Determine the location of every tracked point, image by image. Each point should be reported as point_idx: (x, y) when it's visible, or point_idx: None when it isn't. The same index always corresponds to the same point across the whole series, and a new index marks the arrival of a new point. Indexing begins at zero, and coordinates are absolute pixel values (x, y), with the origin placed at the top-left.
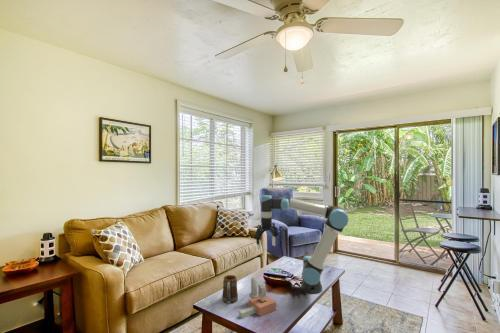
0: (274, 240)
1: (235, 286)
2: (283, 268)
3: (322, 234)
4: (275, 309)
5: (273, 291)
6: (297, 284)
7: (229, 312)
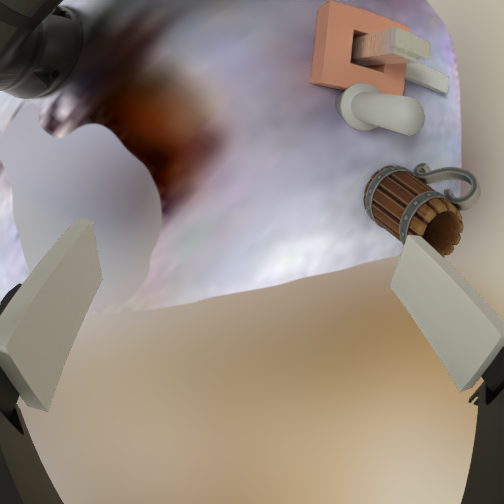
0: (46, 282)
1: (421, 190)
2: (24, 275)
3: None
4: (319, 8)
5: (196, 121)
6: (55, 114)
7: (440, 133)
